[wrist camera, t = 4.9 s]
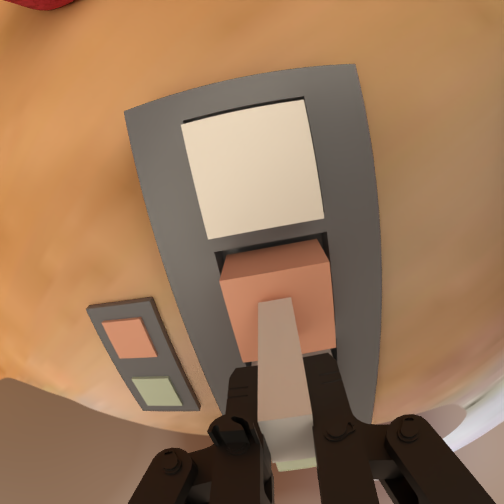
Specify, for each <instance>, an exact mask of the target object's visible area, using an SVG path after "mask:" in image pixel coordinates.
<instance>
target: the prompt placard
mask: <svg viewBox="0 0 504 504" xmlns="http://www.w3.org/2000/svg"><path fill="white" fill-rule="evenodd" d="M86 310H87V313H88V315H89V317H90V319H91V321H92V323H93V325H94V327H95V329H96V331H97V333H98V335H99V337H100V339H101V341H102V343H103V345H104V347H105V348H106V350H107V352H108V354H109V356H110V358H111V359H112V361H113V363H114V365H115V366H116V368H117V370H118V372H119V373H120V375H121V377H122V378H123V380H124V382H125V383H126V385H127V387H128V388H129V390H130V391H131V393H132V395H133V396H134V398H135V399H136V401H137V402H138V404H139V405H140V407H141V408H142V410H143V411H200V407H201V406H200V404H199V402H198V400H197V398H196V396H195V394H194V392H193V390H192V388H191V386H190V383H189V381H188V379H187V377H186V375H185V373H184V371H183V369H182V366H181V364H180V362H179V360H178V358H177V355H176V353H175V351H174V349H173V346H172V344H171V342H170V339H169V337H168V335H167V332H166V330H165V327H164V325H163V323H162V320H161V318H160V315H159V313H158V310H157V308H156V305H155V302H154V300H153V297H148V298H141V299H133V300H126V301H119V302H111V303H104V304H96V305H89V306H88V307H87V308H86Z"/></svg>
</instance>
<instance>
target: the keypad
mask: <svg viewBox="0 0 504 504" xmlns="http://www.w3.org/2000/svg"><path fill="white" fill-rule="evenodd" d="M298 100H304V103H305V108H306V113H307V118H308V123H309V128H310V133H311V138H312V144H313V149H314V155H315V160H316V166H317V172H318V179H319V185H320V191H321V198H322V205H323V212H324V219H318V220H312V221H307V222H301V223H295V224H290V225H284V226H279V227H273V228H268V229H262V230H257V231H251V232H246V233H241V234H235V235H230V236H225V237H220V238H214V239H209V240H208V237H207V233H206V229H205V226H204V222H203V218H202V214H201V210H200V206H199V202H198V198H197V193H196V189H195V185H194V181H193V177H192V172H191V168H190V164H189V160H188V155H187V151H186V146H185V142H184V137H183V133H182V128H181V125H182V124H186V123H189V122H193V121H197V120H201V119H205V118H209V117H213V116H217V115H221V114H226V113H230V112H235V111H240V110H245V109H250V108H255V107H260V106H266V105H272V104H278V103H284V102H291V101H298ZM124 115H125V120H126V125H127V130H128V135H129V139H130V144H131V148H132V153H133V157H134V161H135V166H136V170H137V174H138V178H139V182H140V186H141V189H142V193H143V197H144V201H145V204H146V208H147V212H148V215H149V219H150V222H151V226H152V229H153V232H154V236H155V239H156V242H157V246H158V249H159V252H160V255H161V258H162V262H163V265H164V268H165V271H166V274H167V277H168V280H169V283H170V286H171V289H172V291H173V294H174V297H175V300H176V303H177V306H178V308H179V311H180V314H181V317H182V319H183V322H184V325H185V327H186V330H187V332H188V335H189V338H190V340H191V343H192V345H193V348H194V350H195V353H196V355H197V358H198V360H199V363H200V365H201V367H202V370H203V372H204V375H205V377H206V379H207V382H208V384H209V386H210V389H211V391H212V393H213V395H214V398H215V400H216V402H217V404H218V406H219V409H220V411H221V413H222V415H225V412H226V403H227V394H228V385H229V378H230V376H231V374H232V373H233V371H234V370H235V368H240V367H248V366H251V363H252V362H245V363H243V361H242V358H241V355H240V352H239V348H238V345H237V341H236V338H235V335H234V331H233V328H232V325H231V321H230V318H229V314H228V311H227V307H226V304H225V300H224V297H223V293H222V289H221V286H220V282H219V280H220V276H221V273H222V269H223V266H224V262H225V259H226V255H229V254H235V253H240V252H246V251H251V250H257V249H262V248H268V247H274V246H279V245H285V244H290V243H296V242H301V241H307V240H312V239H317V240H318V242H319V243H320V245H321V247H322V249H323V251H324V252H325V254H326V256H327V258H328V260H329V262H330V272H331V282H332V293H333V306H334V320H335V336H336V348H331V349H330V350H331V353H332V357H333V358H334V359H335V360H336V361H337V365H338V368H339V372H340V374H341V378H342V381H343V384H344V388H345V391H346V394H347V398H348V401H349V405H350V408H351V411H352V413H353V415H354V416H355V417H356V418H357V419H358V420H360V421H361V422H364V423H367V424H371V422H372V415H373V408H374V401H375V393H376V384H377V374H378V363H379V351H380V335H381V310H382V260H381V235H380V219H379V206H378V195H377V185H376V176H375V167H374V160H373V153H372V146H371V139H370V133H369V127H368V121H367V116H366V111H365V105H364V101H363V96H362V91H361V86H360V82H359V78H358V74H357V69H356V65H355V64H341V65H326V66H314V67H304V68H296V69H288V70H281V71H274V72H268V73H262V74H256V75H251V76H245V77H240V78H235V79H231V80H226V81H222V82H217V83H213V84H209V85H205V86H201V87H198V88H194V89H190V90H187V91H183V92H180V93H176V94H173V95H170V96H166V97H163V98H160V99H157V100H154V101H151V102H148V103H145V104H143V105H140V106H137V107H134V108H131V109H129V110H126V111H124Z"/></svg>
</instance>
